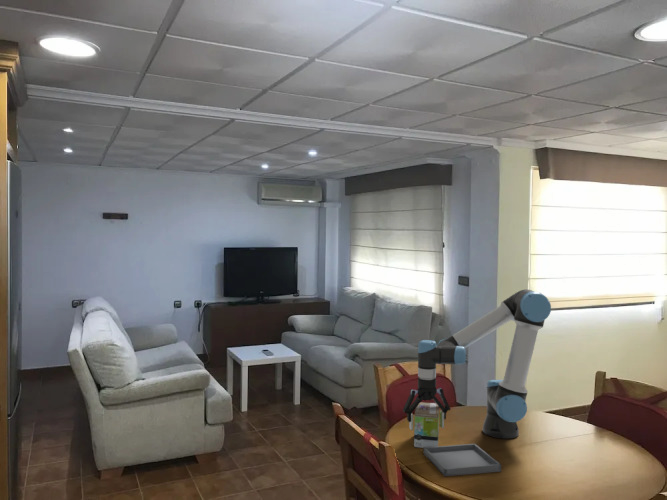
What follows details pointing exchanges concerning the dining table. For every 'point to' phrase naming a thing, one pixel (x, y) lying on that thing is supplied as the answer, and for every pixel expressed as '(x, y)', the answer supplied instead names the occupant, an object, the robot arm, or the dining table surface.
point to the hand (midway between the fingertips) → (426, 428)
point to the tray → (461, 459)
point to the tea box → (426, 425)
